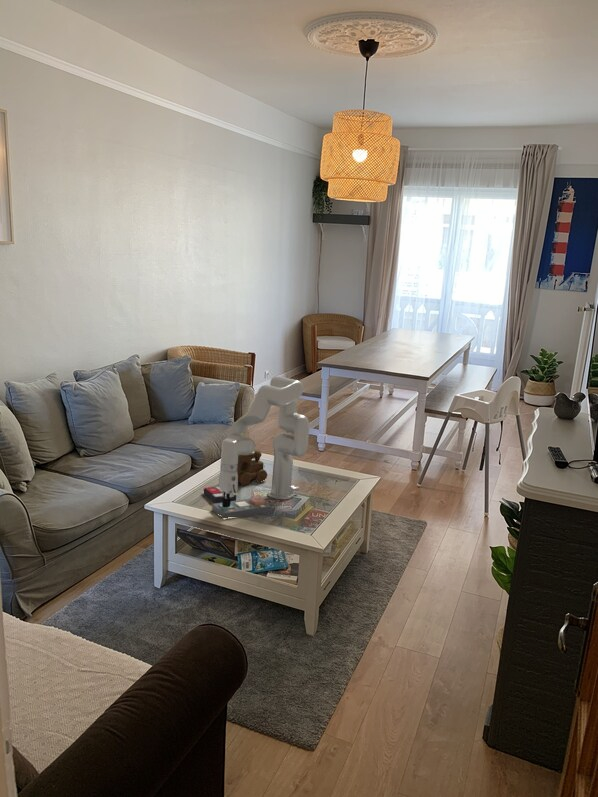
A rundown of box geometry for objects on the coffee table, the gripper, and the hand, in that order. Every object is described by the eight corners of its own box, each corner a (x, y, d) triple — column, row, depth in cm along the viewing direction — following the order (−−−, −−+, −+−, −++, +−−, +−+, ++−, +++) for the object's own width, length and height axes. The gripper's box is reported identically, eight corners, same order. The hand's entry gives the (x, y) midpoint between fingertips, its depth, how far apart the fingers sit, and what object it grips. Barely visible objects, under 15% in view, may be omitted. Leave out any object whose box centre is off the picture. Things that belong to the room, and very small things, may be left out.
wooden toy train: (237, 487, 312) (239, 455, 309) (225, 480, 320) (227, 449, 317) (269, 481, 325) (271, 451, 322) (256, 475, 333) (258, 445, 330)
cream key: (244, 506, 284) (244, 501, 283) (249, 510, 280) (249, 505, 279) (234, 507, 281) (234, 502, 280) (239, 511, 277) (240, 506, 276)
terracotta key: (259, 502, 288) (259, 497, 287) (264, 506, 284) (265, 500, 283) (250, 503, 285) (250, 498, 285) (255, 507, 281) (255, 502, 281)
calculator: (224, 485, 304) (236, 493, 291) (224, 493, 304) (236, 502, 292) (203, 487, 298) (215, 495, 285) (203, 495, 299) (214, 504, 286)
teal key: (228, 508, 279) (228, 503, 279) (233, 512, 275) (234, 507, 275) (218, 510, 277) (218, 504, 276) (223, 514, 272) (223, 508, 272)
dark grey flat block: (258, 503, 292) (258, 497, 291) (271, 512, 282) (271, 505, 282) (212, 510, 279) (212, 503, 278) (223, 519, 269) (224, 512, 268)
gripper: (244, 471, 268) (241, 511, 271) (229, 461, 280) (226, 499, 283) (229, 472, 264) (226, 513, 267) (213, 462, 276) (211, 501, 279)
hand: (226, 506), depth 275 cm, fingers closed
